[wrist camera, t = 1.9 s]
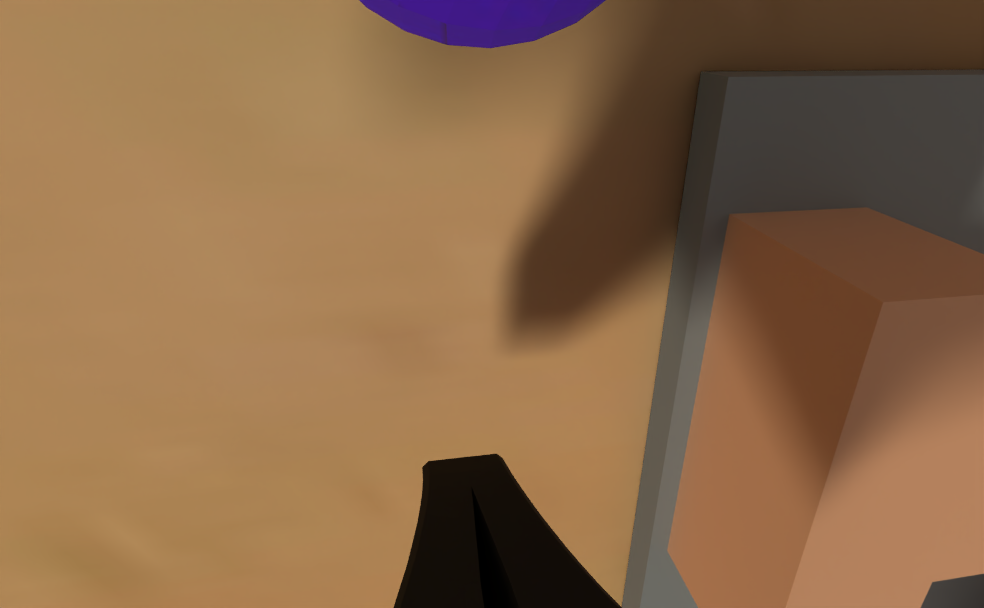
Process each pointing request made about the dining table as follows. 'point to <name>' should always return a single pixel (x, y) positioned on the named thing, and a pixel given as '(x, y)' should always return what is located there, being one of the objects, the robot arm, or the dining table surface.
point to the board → (795, 187)
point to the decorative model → (482, 19)
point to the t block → (835, 417)
